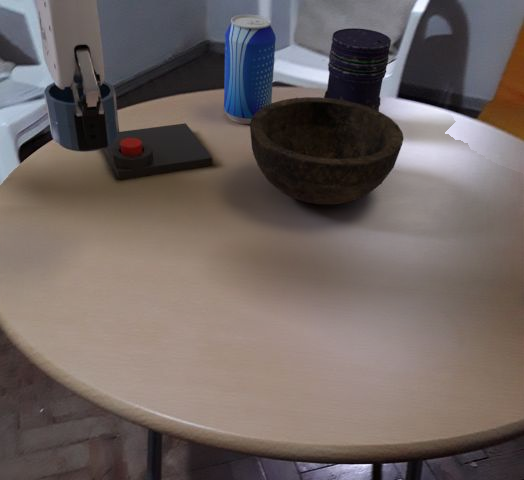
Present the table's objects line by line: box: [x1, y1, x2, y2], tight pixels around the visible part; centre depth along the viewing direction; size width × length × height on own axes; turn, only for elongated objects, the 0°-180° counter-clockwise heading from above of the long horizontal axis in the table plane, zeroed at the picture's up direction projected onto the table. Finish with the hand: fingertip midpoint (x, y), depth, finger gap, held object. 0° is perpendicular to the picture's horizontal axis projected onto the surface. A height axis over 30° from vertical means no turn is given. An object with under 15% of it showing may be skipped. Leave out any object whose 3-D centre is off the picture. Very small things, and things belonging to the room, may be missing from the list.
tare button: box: [120, 138, 142, 156], centre depth 95 cm, size 3×3×2 cm
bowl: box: [249, 96, 404, 205], centre depth 92 cm, size 22×22×10 cm
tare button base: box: [102, 123, 213, 181], centre depth 100 cm, size 15×13×3 cm
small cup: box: [43, 78, 120, 153], centre depth 70 cm, size 7×7×6 cm
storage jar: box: [323, 27, 392, 112], centre depth 108 cm, size 10×10×15 cm
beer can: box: [223, 14, 277, 125], centre depth 108 cm, size 8×8×16 cm
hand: (85, 131), depth 72 cm, fingers closed on small cup, 7 cm apart
